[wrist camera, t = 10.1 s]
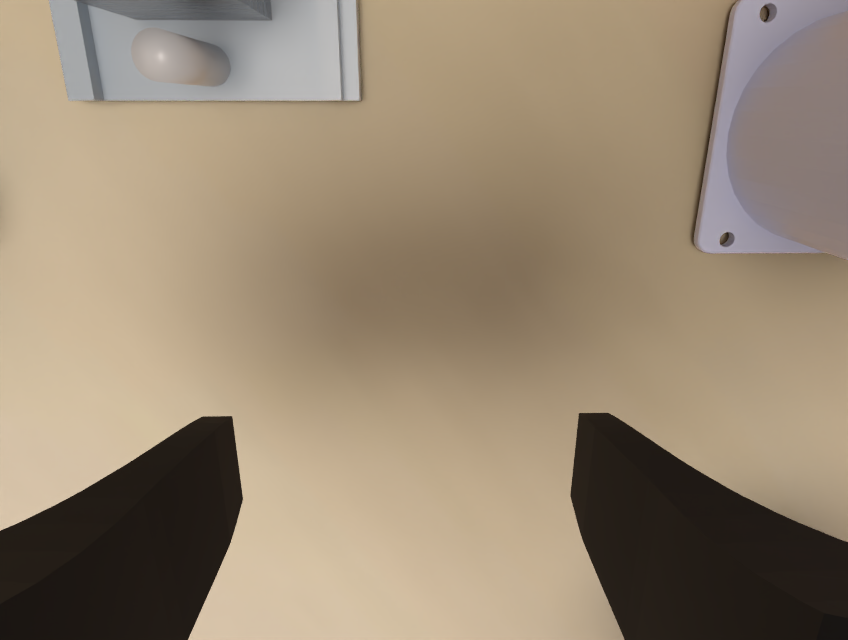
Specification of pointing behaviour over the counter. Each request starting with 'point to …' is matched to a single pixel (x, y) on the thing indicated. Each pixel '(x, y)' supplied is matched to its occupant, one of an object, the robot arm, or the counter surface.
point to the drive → (187, 9)
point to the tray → (211, 55)
